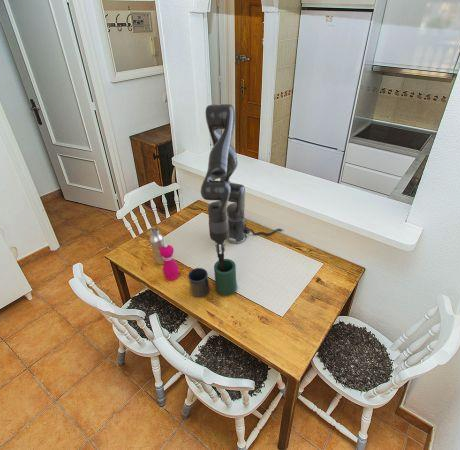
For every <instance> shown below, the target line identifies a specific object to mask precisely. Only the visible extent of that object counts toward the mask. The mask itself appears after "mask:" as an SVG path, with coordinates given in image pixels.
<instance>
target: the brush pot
mask: <svg viewBox="0 0 460 450" xmlns="http://www.w3.org/2000/svg"><path fill="white" fill-rule="evenodd" d="M187 277H188V284H189V290H190V293H191V294H190V295H192V296H193V297H194V298H204V297H206V296H207V295H208V294H209V292H210V282H209V281H210V280H209V274H208V271H207V270H206V269H205V268H204V267H203V268H202V267H195V268H193V269H191V270H190V271H189V272H188V274H187Z"/></svg>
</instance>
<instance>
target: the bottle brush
mask: <svg viewBox="0 0 460 450" xmlns="http://www.w3.org/2000/svg"><path fill="white" fill-rule="evenodd" d="M220 271H221V272H224V263H223V262H220Z"/></svg>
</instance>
